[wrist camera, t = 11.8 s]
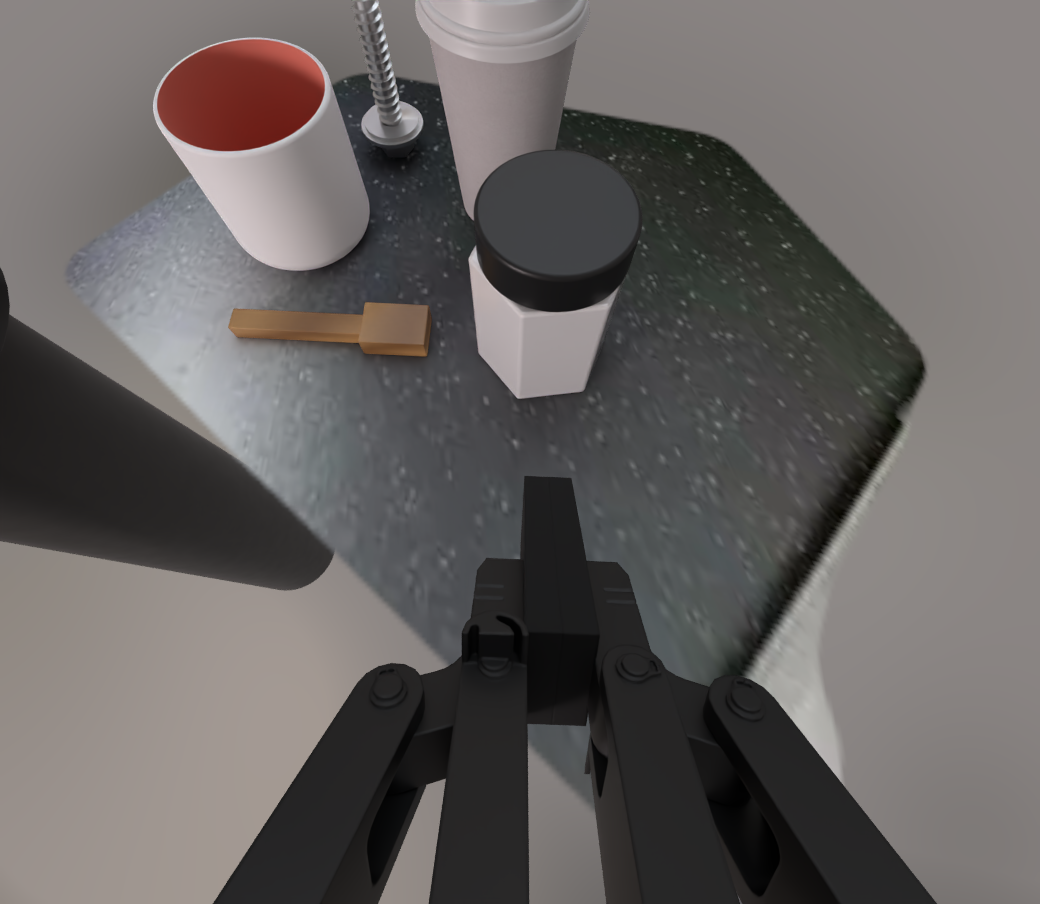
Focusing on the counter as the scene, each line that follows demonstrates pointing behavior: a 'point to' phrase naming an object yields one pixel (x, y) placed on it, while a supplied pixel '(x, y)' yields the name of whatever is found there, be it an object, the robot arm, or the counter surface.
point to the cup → (267, 149)
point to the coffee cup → (501, 77)
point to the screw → (384, 88)
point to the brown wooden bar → (344, 327)
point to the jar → (550, 267)
